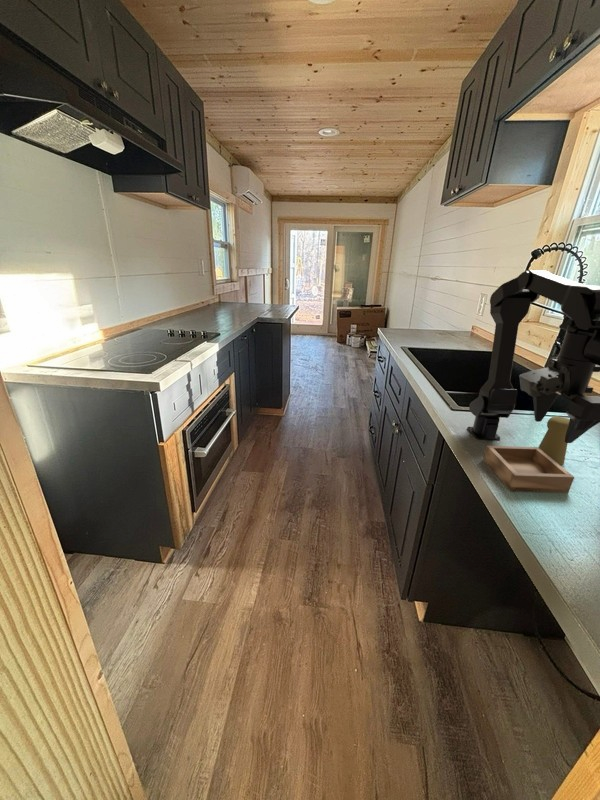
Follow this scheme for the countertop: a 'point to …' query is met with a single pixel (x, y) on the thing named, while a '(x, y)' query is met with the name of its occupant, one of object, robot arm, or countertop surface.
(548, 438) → the cork
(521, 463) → the box
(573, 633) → the countertop surface
